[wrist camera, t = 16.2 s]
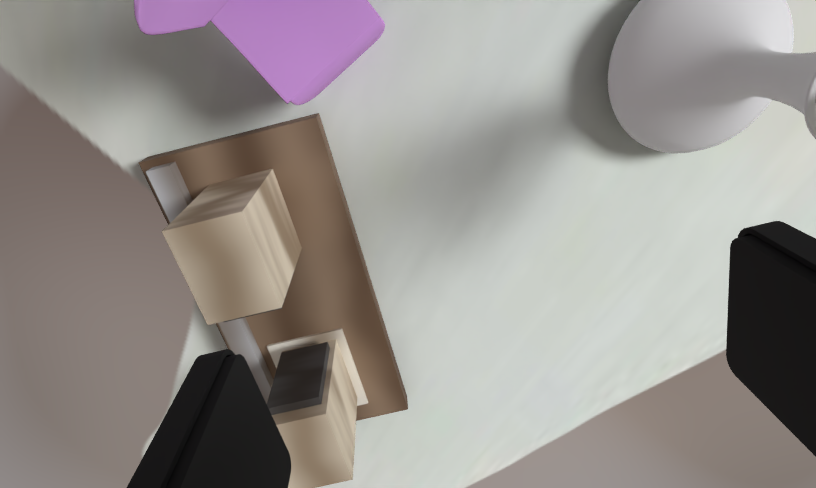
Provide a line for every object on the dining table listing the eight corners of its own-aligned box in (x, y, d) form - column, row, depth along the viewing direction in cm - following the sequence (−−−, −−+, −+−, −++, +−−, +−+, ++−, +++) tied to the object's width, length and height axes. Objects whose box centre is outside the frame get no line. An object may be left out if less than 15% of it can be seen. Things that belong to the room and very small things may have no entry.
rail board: (318, 113, 33) (297, 146, 25) (407, 396, 44) (413, 491, 35) (148, 156, 34) (68, 204, 25) (275, 426, 44) (249, 526, 35)
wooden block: (306, 409, 41) (290, 492, 34) (278, 345, 39) (255, 422, 31) (357, 397, 41) (352, 479, 34) (333, 332, 38) (323, 406, 31)
